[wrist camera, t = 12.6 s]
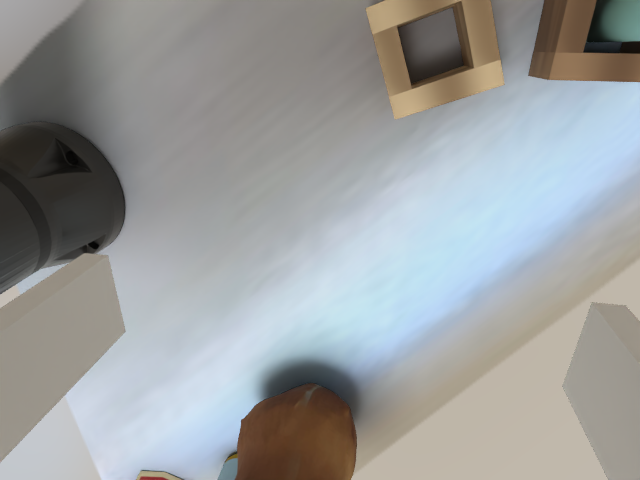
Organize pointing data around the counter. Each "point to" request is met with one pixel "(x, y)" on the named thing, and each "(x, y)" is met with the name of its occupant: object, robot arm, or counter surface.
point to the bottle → (229, 468)
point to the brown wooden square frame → (578, 47)
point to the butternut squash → (298, 437)
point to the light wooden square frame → (474, 77)
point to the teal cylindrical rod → (615, 21)
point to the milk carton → (155, 476)
